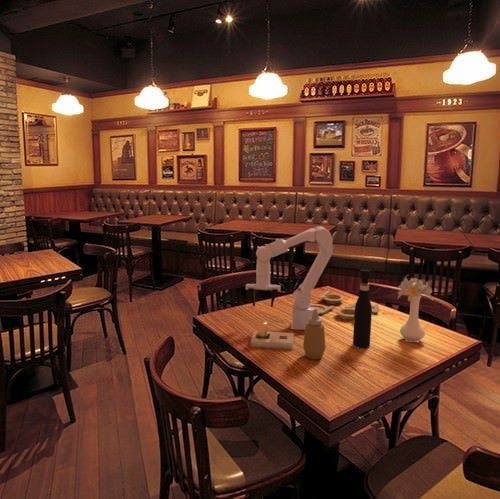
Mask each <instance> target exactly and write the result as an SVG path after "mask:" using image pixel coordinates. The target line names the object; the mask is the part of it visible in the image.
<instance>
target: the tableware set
mask: <svg viewBox="0 0 500 499" xmlns="http://www.w3.org/2000/svg"><path fill="white" fill-rule="evenodd" d="M318 298H320V299H323V300H325V303H326V304H329V306H327V305H323V304H319V303H310V305H309V306H310V307H313V308H314V309H317V311H318V315H324V314H327V313H329V312H330V311H331V310H333V309H335V306H334V305H338V304H340V302H341V301H344V300H345V296H344V295H342V294H340V293H332V292H331V291H330V290H326V291H325V292H324V293H323V294H320V295H318ZM356 302H357V301H356ZM356 302H353V303H350V304H349V305H346V306H345V305H344V307H339V308H337V309H336V311H335V312H336V314H337V315H338V316H340V317H341V319H343V320H347V321H354V312H355V306H356ZM371 307H372V314H374V313H377V314H378V313H379V311H380V308H379V304H377V303H375V304H371Z"/></svg>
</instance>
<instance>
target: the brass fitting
mask: <svg viewBox="0 0 500 499" xmlns="http://www.w3.org/2000/svg"><path fill="white" fill-rule="evenodd" d="M268 322H269V321H266V320H260V321H258V322H257V331H258V339H268V332H269V323H268Z"/></svg>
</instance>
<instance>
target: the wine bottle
mask: <svg viewBox="0 0 500 499" xmlns="http://www.w3.org/2000/svg"><path fill="white" fill-rule="evenodd" d="M371 273H372V272H371V269H369V268H361V269H359V279H361V282H360V285H359V290H358V298H357V300H356V306H355V312H354V320H353V333H352V334H353V335H352V346H353V345H354V346H353V347H355V346H356V347H355V348H357V347H359V348H358V349H361V348H365V349H368V348H367V347H369V346H370V347H371V335H372V334H371V332H372V314H373V313H372V307H371V305H372V303H371V302H372V301H371V298H370V288H369V287H370V285H369V280H371V275H372V274H371ZM370 347H369V348H370Z"/></svg>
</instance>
